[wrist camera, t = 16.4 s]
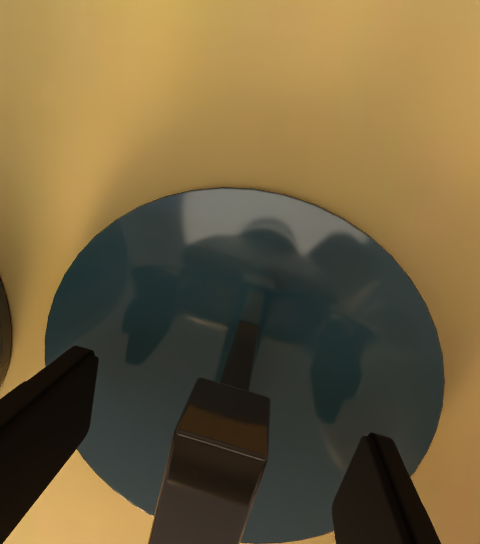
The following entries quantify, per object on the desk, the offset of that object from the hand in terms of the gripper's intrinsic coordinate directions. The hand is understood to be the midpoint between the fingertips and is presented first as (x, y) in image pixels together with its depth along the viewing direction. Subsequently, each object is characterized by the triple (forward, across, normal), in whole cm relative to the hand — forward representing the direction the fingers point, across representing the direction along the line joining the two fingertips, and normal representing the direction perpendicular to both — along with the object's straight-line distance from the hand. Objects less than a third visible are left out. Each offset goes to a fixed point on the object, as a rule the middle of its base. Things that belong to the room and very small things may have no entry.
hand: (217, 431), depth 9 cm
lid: (+2, 0, 0) cm, 2 cm away
